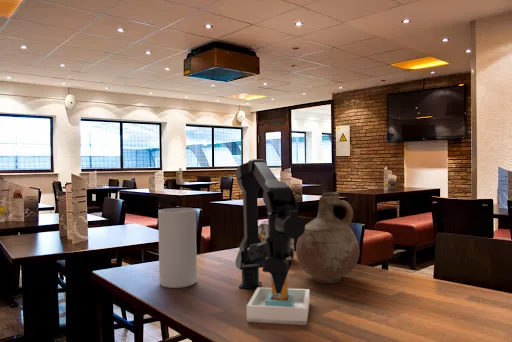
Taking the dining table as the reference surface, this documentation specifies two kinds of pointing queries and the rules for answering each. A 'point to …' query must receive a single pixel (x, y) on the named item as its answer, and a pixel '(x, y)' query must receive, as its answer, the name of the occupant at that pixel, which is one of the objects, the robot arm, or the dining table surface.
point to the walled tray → (279, 307)
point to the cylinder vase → (177, 247)
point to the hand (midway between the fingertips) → (279, 290)
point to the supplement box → (284, 292)
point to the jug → (328, 242)
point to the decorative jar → (264, 234)
